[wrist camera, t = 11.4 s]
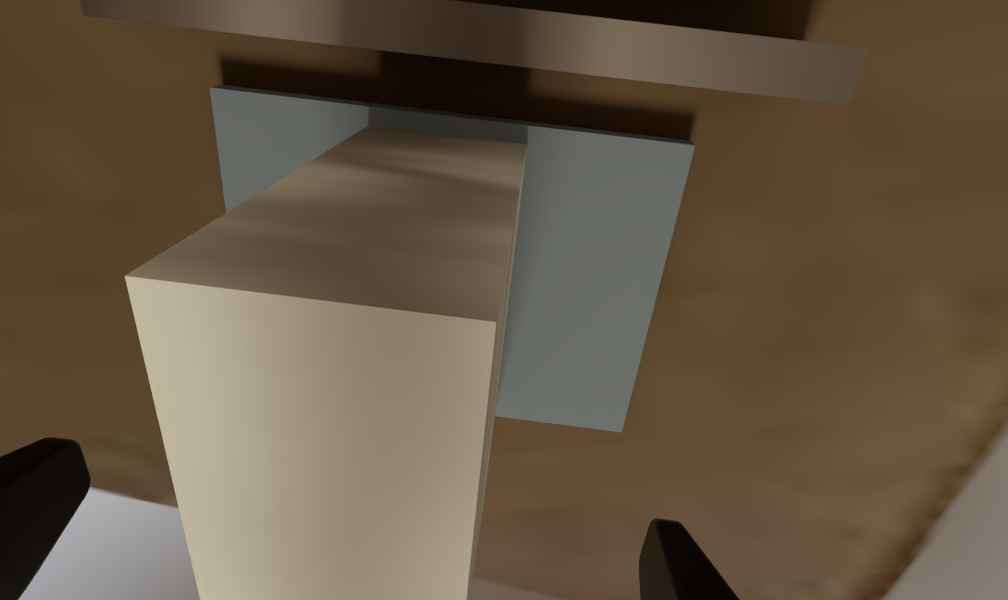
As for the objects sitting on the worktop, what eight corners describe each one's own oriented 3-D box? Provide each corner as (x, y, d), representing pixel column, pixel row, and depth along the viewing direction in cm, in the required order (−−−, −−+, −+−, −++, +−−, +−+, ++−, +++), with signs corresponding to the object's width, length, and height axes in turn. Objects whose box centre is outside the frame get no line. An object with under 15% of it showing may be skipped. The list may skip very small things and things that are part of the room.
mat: (257, 373, 19) (248, 384, 18) (222, 84, 14) (209, 87, 14) (619, 420, 18) (621, 432, 18) (689, 140, 14) (695, 145, 14)
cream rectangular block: (370, 386, 18) (222, 694, 10) (367, 125, 14) (125, 275, 6) (496, 402, 18) (452, 726, 10) (527, 144, 14) (496, 321, 6)
